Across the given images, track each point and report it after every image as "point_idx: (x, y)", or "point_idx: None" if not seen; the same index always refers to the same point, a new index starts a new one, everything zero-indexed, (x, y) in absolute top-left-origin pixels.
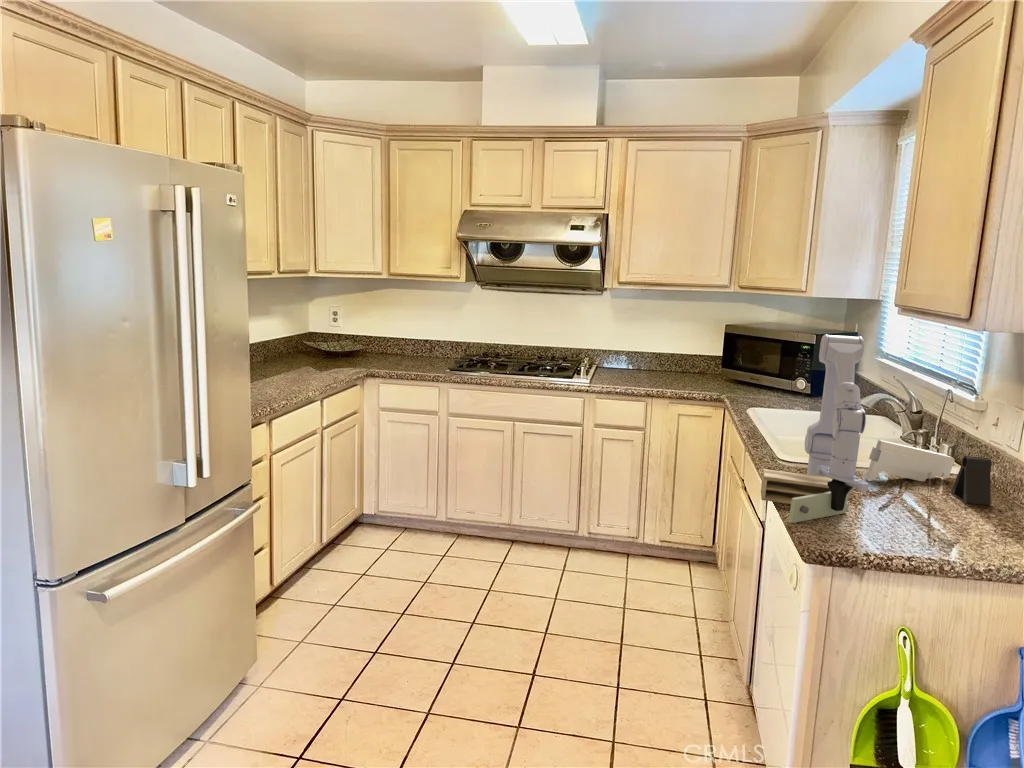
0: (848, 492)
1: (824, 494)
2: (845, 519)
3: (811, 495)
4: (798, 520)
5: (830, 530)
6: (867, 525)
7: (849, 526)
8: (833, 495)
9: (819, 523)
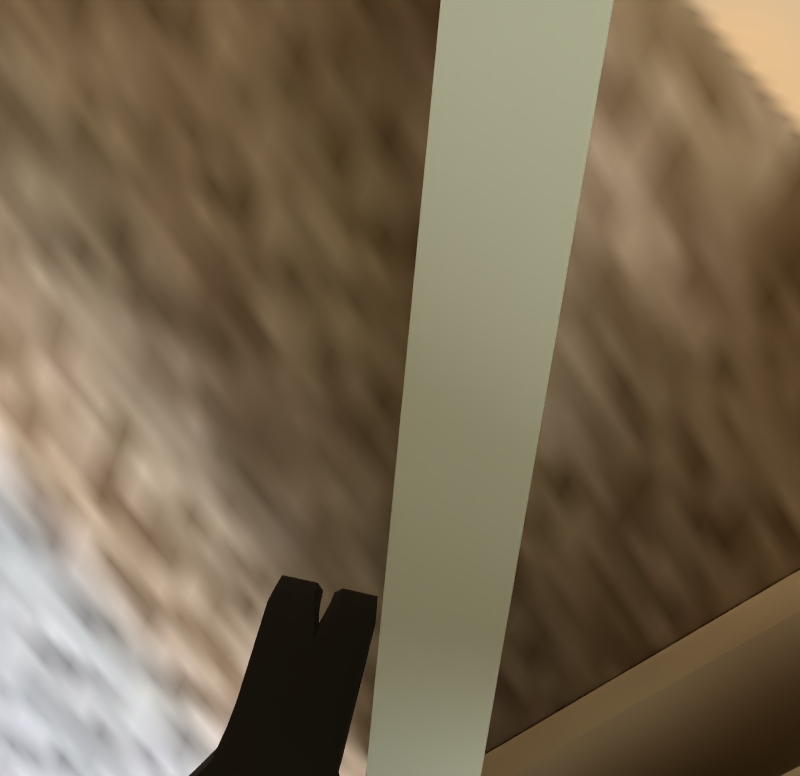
0: None
1: (384, 599)
2: None
3: (539, 76)
4: None
5: (79, 111)
6: (64, 664)
7: (103, 472)
8: (274, 767)
9: (313, 204)
